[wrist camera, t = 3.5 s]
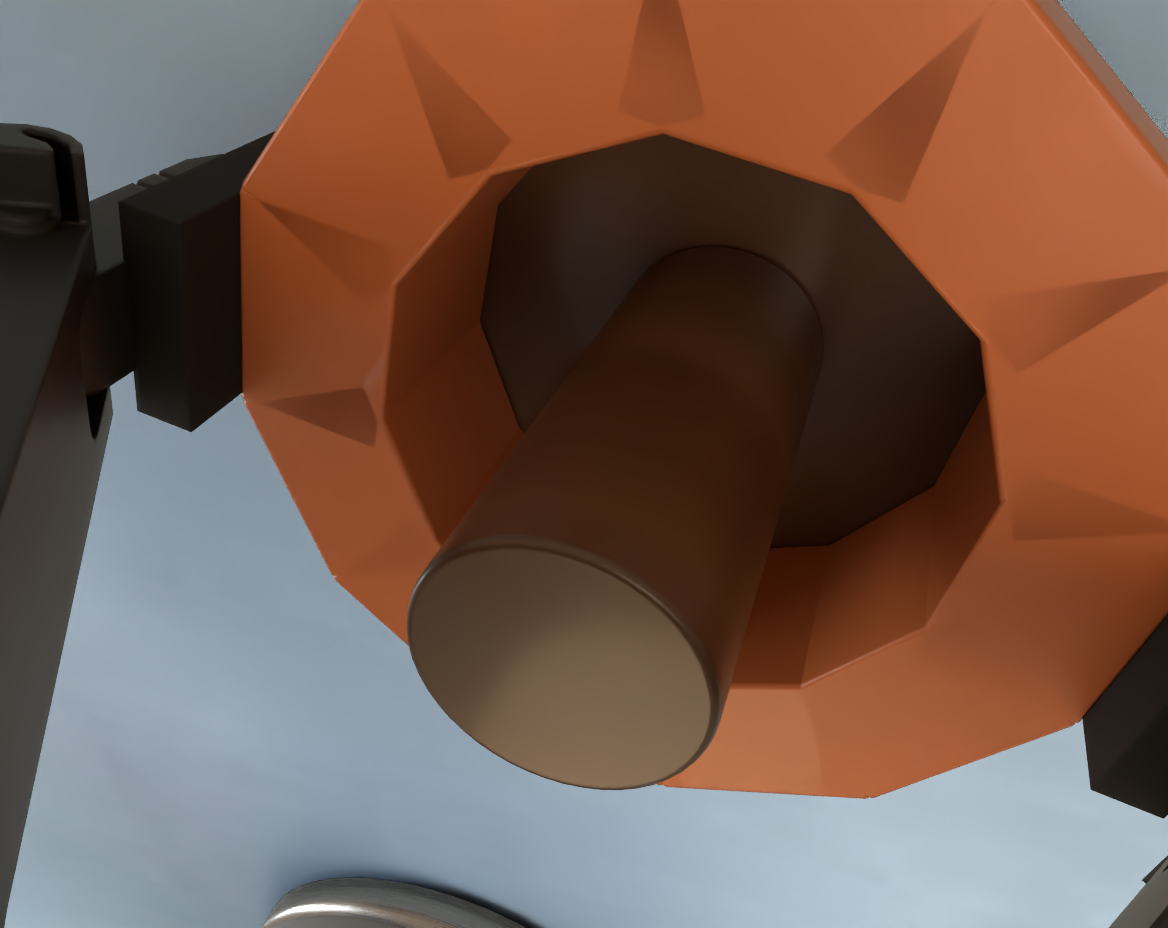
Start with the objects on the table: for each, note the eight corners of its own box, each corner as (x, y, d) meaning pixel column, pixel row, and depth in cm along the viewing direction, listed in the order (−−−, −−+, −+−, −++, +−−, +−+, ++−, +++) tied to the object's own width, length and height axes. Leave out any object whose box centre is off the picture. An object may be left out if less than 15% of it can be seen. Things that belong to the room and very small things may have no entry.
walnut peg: (908, 547, 17) (855, 1095, 10) (483, 389, 19) (152, 772, 11) (1170, 73, 12) (1458, 460, 5) (566, -102, 14) (66, 0, 6)
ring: (940, 739, 16) (932, 904, 13) (343, 501, 17) (242, 611, 15) (1418, 49, 9) (1569, 129, 7) (395, -232, 11) (230, -247, 8)
